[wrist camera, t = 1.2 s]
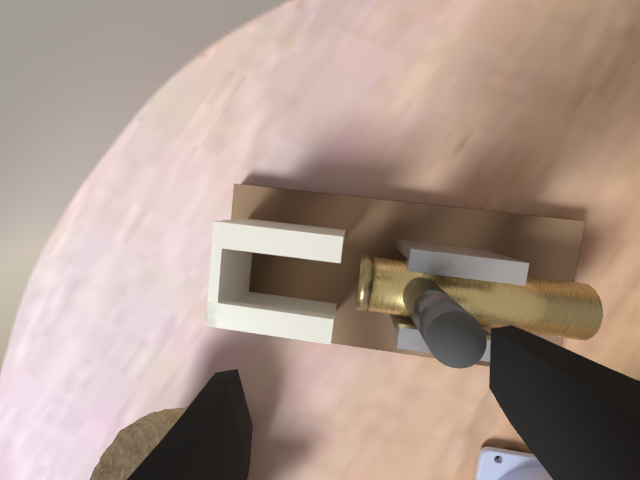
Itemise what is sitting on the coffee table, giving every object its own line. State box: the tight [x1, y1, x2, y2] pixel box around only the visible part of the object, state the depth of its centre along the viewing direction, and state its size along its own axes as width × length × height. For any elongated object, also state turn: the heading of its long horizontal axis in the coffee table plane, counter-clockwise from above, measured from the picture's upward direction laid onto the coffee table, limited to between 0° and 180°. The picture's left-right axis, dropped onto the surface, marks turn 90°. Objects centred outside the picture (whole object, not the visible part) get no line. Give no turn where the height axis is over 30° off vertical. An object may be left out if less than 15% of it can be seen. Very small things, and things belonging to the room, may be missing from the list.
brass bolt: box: [355, 255, 603, 368], centre depth 13 cm, size 11×3×9 cm, turn 84°
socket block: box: [205, 219, 346, 345], centre depth 17 cm, size 6×5×5 cm
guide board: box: [231, 184, 586, 366], centre depth 17 cm, size 20×9×6 cm, turn 84°
